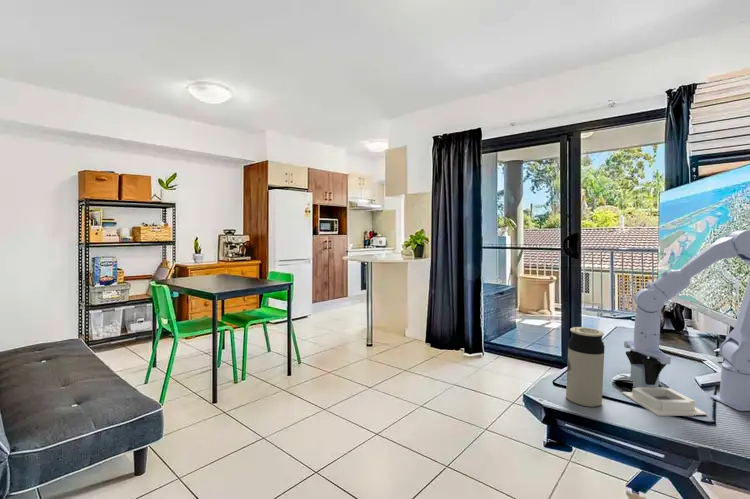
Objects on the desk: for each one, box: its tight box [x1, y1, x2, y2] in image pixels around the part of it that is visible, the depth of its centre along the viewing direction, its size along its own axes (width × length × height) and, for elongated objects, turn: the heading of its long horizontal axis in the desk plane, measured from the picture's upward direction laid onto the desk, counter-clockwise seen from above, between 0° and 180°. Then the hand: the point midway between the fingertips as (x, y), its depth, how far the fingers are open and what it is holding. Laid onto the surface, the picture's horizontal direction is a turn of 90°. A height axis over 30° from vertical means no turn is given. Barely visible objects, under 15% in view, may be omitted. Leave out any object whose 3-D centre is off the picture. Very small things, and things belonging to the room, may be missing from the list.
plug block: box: [629, 364, 660, 388], centre depth 105 cm, size 5×4×6 cm
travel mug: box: [565, 326, 606, 408], centre depth 96 cm, size 8×8×18 cm
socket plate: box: [621, 386, 708, 417], centre depth 95 cm, size 12×12×2 cm
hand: (644, 381), depth 105 cm, fingers closed on plug block, 4 cm apart
